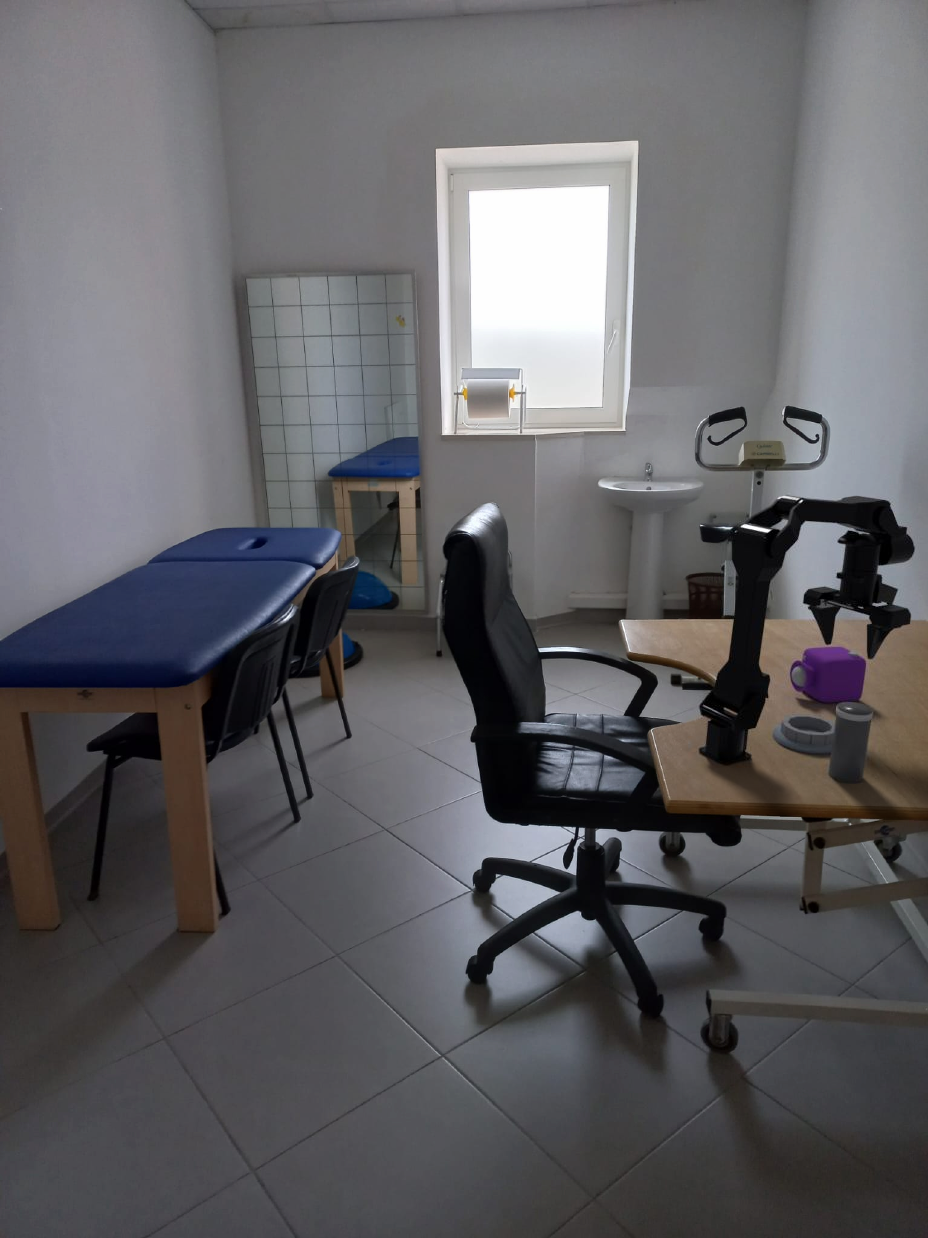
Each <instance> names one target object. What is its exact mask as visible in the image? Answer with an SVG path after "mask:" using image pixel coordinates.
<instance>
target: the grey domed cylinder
mask: <svg viewBox="0 0 928 1238" xmlns="http://www.w3.org/2000/svg"><path fill="white" fill-rule="evenodd" d="M835 708H836V709H835V719H834V723H835V727H834V734H833V741H832V749H831V753H830V757H829V764H828V772H827V773H828V776H829V777H830V778H832V780H835V781H837V782H841V783H845V784H858V783H861V782H862V781H864V780H863V779H864V771H865V766H866V759H867V752H868V747H869V745H868V744H869V738H870V732H871V725H872V720H873V718H874V717H873V716H874V710H873V708H872V707H871V706H868V705H866V704H865V703H864V704H863V703H860V702H856V701H846V702H838V703H837V705H836V707H835Z"/></svg>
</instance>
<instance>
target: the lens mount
mask: <svg viewBox="0 0 928 1238" xmlns="http://www.w3.org/2000/svg"><path fill="white" fill-rule="evenodd" d="M834 727H835V721H831V720H829V719H827V718H824V717H821V716H816V715H811V714H791V715H788V716H784V718H783V719H782V720H781V723H779V724H777V725H775V726H774V727H773V731H772V738H773V739H774V741H775V742H776V743H778V744H780V745H781V746H783V747H784V748H787V749H791V750H793V751H796V752H800V753H805V754H812V755H828V754H829V755H831V749H832V741H833V734H834Z"/></svg>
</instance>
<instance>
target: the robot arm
mask: <svg viewBox="0 0 928 1238" xmlns="http://www.w3.org/2000/svg"><path fill="white" fill-rule="evenodd" d="M891 506H892V505H891V502H890V501H889V500H887V499H882V498H875V497H867V496H862V495H861V496H860V495H853V496H845V497H842V498H841V499H839V500H831V499H820V498H819V499H817V498H806V497H801V496H795V495H788V494H785V495H782V496H779V497H777V498H776V499H775V500H774V502H773V503H772V504H771V505H769V506H767V507H765V508H764V509H761V510H760V511H758V512H757V513H755V514H753V515H750V517H749V518H748V519H747V520H746V521H745V522H744V523H743V524H742V525H741V526H739V528H738V529H736V530H735V531H734V533H733V534H732V539H731V562H732V564H733V567H734V569H735V572H736V575H737V576H738V582H737V590H736V598H735V603H734V604H735V605H734V613H733V623H732V630H731V637H730V645H729V653H728V659H727V661H726V662H725V664H724V665H723V666H722V667H721V668H720V669H719V671H718V672H717V675H716V679H715V683H714V686H713V687H712V689H710V691H709V692H708V694H707V695H706V696H705V697H704V698H703V700H701V702H700V704H699V706H698V708H699V712H700V716H702V717H705V718H707V719H709V720H708V721H707V726H706V727H707V728H706V736H705V737H706V739H705V745H704V746H702V747H698V752H700V753H701V754H704V755H705V756H707V757H709V758H711V759H713V761H716V762H718V763H720V764H721V765H730V764H733V763H737V762H741V761H745V760H748V759H751V758H752V757H753V755H752V754H751V753H749V752H747V747H748V737H749V730H752V729H756V727H757V726H758V724H759V720H760V717H761V716H762V715H761V714H762V712H763V710H764V707H765V704H766V700H768V699H769V698H770V697H769V687H770V684H771V675H770V674H768V673H765V672H763V671H762V669H761V667H760V658H761V651H762V645H763V638H764V630H765V622H766V614H767V607H768V602H769V594H770V586H771V581H772V580H773V579H774V578H775V577H776V576H777V574H778V573H779V571H781V569H782V568H783V565H784V561H785V558H786V555H787V552H788V551H789V550H790V549H791V548H792V547H793V546H794V545H795V543H797V541H799V537H800V533H801V529H802V526H803V525H804V524H805V522H809V523H810V522H812V523H825V524H826V523H828V524H837V525H840V526H843V527H845V528H849V529H853V530H848V529H847V531H846V533H845V534H843V535H840V537H839V538H838V539H837V543H838V544H841V545H845V546H844V553H843V562H842V568H841V571H839V572H836V577H835V579H839V580H840V582H839V583H840V584H839V589H836V588H832V587H830V586H829V587H828V586H825V585H824V586H819V587H812V588H808V589H807V590H806V591H805V592H804V593H803V597H802V598H803V599H802V604H804V605H807V610H808V611H811V613H812V616H813V617H814V620H815V621H816V622H815V623H816V624H817V627H818V629H819V631H820V633H821V636H822V639H823V641H824V644H825V645H826V646H829V645H831V644H832V642H833V637H834V631H835V623H836V617H837V615H838V613H839V612H840V610H841V609H845V610H849V611H852V612H855V613H859V614H862V615H865V616H868V619H869V621H870V623H868V624H866V655H867V659H868V660H873V659H874V658H875V657H876V654H877V653H878V651H879V650H880V648H881V646H882V645H883V643H884V641H885V640H886V638H887V637H888V636H889V634H890V633H891V632H892V631H893V630H894V629H899V628H902V627H903V626H908V625H911V619H912V613H911V611H910V609H909V608H907V607H903V606H900V605H896V604H894V601H895V599H896V596H897V594H898V591H899V588H896V587H893V586H892V585H889V584H886V583H883V575H882V574H880V573H878V572H879V571H878V570H879V567H881V566H889V565H896V564H903V563H906V562H908V561H910V560H911V558H913V556H914V555H915V550H916V547H915V545H914V541H913V538H912V537H911V536H910V535H909V534H908V527H907V526H902V525H899V524H898V522H897V518H896V516H895V513H894V511H893V509H892V507H891ZM783 520H785V521H787V523H786V524H785V525H784V526H783V527H782V528H781V529H779V528H774V526H776V525H778V524H779V523H781V522H782V521H783ZM882 603H885V604H883V605H878V604H882ZM874 604H877V605H874ZM730 711H731V712H730Z"/></svg>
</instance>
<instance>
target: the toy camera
mask: <svg viewBox="0 0 928 1238" xmlns="http://www.w3.org/2000/svg"><path fill="white" fill-rule="evenodd" d="M866 668H867V661H866V659H865V658H864V657H862V656H861V655H859V653H858V652H856V651H851V650H850V649H847V648H845V647H843V646H821V647H810V648H806V649H805V650H804V651H803V654H802V660H799V659H798V660H795V661H794V662H792V664H791V666H790V669H789V678H790V683H791V685H792V687H793V689H794V690H795V691H796V692H798V693H802V692H804V693H807V695H809V696H811V697H812V698H814V699H815V700H817V701H819V702H821V703H824V704H825V703H842V702H856V701H859V700H861V698H862V696H863V692H864V691H863V690H864V684H865V676H866V670H867V669H866Z"/></svg>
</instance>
